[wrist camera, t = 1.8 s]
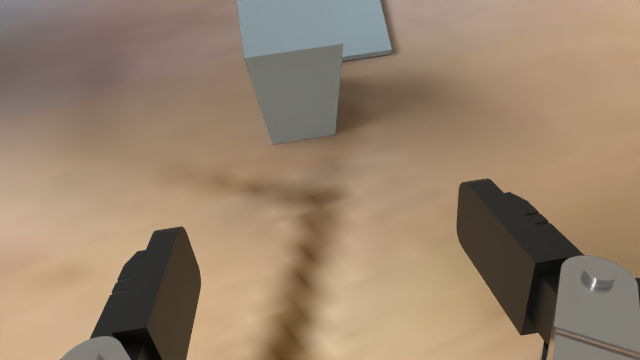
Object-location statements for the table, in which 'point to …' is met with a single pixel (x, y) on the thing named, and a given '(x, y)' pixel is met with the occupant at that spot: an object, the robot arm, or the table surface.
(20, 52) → the table surface
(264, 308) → the table surface
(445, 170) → the table surface
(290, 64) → the blue block
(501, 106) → the table surface
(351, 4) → the swatch tile
